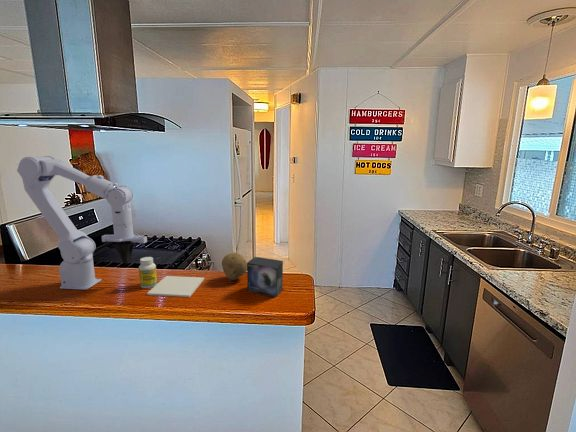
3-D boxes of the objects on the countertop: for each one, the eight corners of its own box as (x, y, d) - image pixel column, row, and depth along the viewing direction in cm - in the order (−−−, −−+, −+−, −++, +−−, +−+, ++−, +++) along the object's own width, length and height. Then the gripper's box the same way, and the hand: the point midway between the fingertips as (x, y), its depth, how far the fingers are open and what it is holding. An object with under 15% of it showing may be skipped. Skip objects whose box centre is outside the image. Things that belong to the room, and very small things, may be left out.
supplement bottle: (155, 280, 113) (153, 255, 111) (158, 286, 109) (156, 259, 107) (138, 284, 110) (136, 257, 108) (141, 290, 106) (139, 262, 104)
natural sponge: (245, 273, 121) (245, 248, 119) (249, 283, 112) (249, 256, 110) (221, 275, 118) (220, 250, 116) (223, 285, 110) (222, 258, 108)
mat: (147, 294, 103) (146, 293, 102) (166, 277, 116) (166, 275, 116) (189, 297, 102) (189, 295, 101) (204, 279, 115) (204, 277, 115)
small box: (246, 292, 106) (245, 262, 103) (254, 284, 112) (254, 256, 109) (275, 298, 102) (276, 267, 100) (283, 289, 108) (283, 260, 106)
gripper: (93, 225, 102) (98, 265, 105) (137, 227, 101) (141, 267, 104) (107, 220, 109) (111, 258, 112) (148, 221, 108) (151, 260, 111)
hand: (126, 262), depth 108 cm, fingers closed
